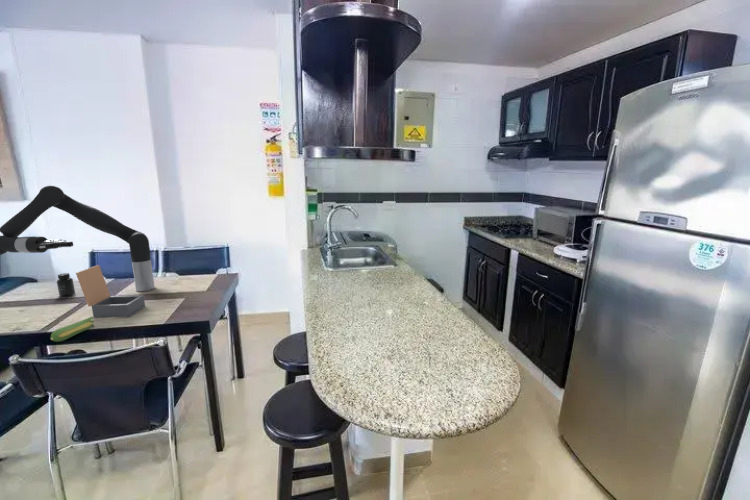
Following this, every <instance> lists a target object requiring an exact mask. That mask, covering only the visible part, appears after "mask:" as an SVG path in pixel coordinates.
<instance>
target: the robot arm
mask: <svg viewBox="0 0 750 500" xmlns="http://www.w3.org/2000/svg"><path fill="white" fill-rule="evenodd" d="M52 207H54V208H56V209H58V210H61V211H63V212H65V213H67V214H69V215H71V216H73V217H74V218H76V219H77V220H79V221H81V222H83V223H84V224H86V225H88V226H90V227H92V228H94V229H96V230H98V231H100V232H103V233H104V234H105V233H106V234H109V235H111V236H113V237H114V236H115V237H117V238H119V239H121V240H122V241H124V242H125V243H127V244H128V247H129V251H130V260H131V266H132V272H133V279H134V284H135V291H136V292H147V291H151V289H152V290H153V289H155V287H156V286H155V279H154V273H153V266H152V258H151V257H152V256H151V248H150V242H149V241H150V240H149V238H148V236H147V234H145V233H143V232H141V231H139V230H136V229H133V228H131V227H129V226H127V225H125V224H123V223H122V222H120V221H119V220H117V219H115V218H114V217H112V216H111V215H109V214H108V213H105V212H103V211H102V210H99V209H98V208H95V207H93V206H90V205H87V204H85V203H82V202H79V201H78V200H76V199H74V198H72V197H71V196H69V195H67V194H66V193H64V191H63V190H62V189H61V188H60V187H58V186H56V185H46V186H44V187H42V188H41V189H40V190H39V192H38V193H37V195H36V196H35V197H34V198H33V200H31V201H30V202H29V203H28V204H27V205H26V206H25V207H24V208H23V209H21V210H19V211H18V212H17V213H16V214H15V215H13V216H12V217H11V218H9V220H7V221H6V222H5V223H4V224H2V225H1V226H0V233H1V235H0V256H2V255H4V254H6V253H24V254H37V253H38V254H43V253H45V252H47V251H48V250H52V249H54V250H55V249H58V248H71V247H74V242H73V241H67V240H66V239H62V238H61V239H60V238H59V239H48V238H47V237H46V236H41V235H39V236H36V235H35V236H30V235H29V236H20V235H22V234H23V232H25V231H27V229H28V228H29V227H31V226H32V224H33V223H34V222H35V221H37V219H38V218H39V217H40V216H41V215H43V214H44V213H45V212H46V211H48V210H49V209H51V208H52ZM19 236H20V237H19Z"/></svg>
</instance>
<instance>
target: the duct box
mask: <svg viewBox="0 0 750 500" xmlns="http://www.w3.org/2000/svg"><path fill="white" fill-rule="evenodd" d="M144 308H146V303H145V296H144V295H143V294H142V295H110V296H109V297H108V298H106V299H104V300H102V301H100V302H98V303H96V304H94V305H92V306H91V309H92V310H91V311H92V315H93V316H92V317H94V318H93V319H97V318H98V319H101V318H102V319H104V318H105V319H106V318H107V319H108V318H130V317H132V316H133V315H135V314H136V313H138V312H139V311H141V310H142V309H144Z"/></svg>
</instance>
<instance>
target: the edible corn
mask: <svg viewBox="0 0 750 500" xmlns="http://www.w3.org/2000/svg"><path fill="white" fill-rule="evenodd" d="M93 319H95V318H94V317H93V316H90V317H88V318H85V319H82V320H80V321H77V322H74V323H71V324H68V325H65V326H62V327H60V328H57V329H55V330H53V331H52V333H51V334H50V340H51V341H53V342H54V343H55V342H56V343H58V342H60V343H61V342H64V341H66V340H68V339H70V338H72V337H75V336H77V335H78V334H80V333H83V332H84V331H87V330H89V329H92V328H94V327H95V326H94V325H95V324H94V323H95V320H93Z"/></svg>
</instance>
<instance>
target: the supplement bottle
mask: <svg viewBox="0 0 750 500" xmlns="http://www.w3.org/2000/svg"><path fill="white" fill-rule="evenodd" d="M70 275H71V274H70V273H69V272H68V273H67V272H65V273H60V274H57V281H56V286H57V291H58V296H59V297H61V298H65V297H66V298H67V297H72V296H74V295H75V294H76V289H75V285H74V283H75V282H74V279H73V278H72V277H71V276H70Z"/></svg>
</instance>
